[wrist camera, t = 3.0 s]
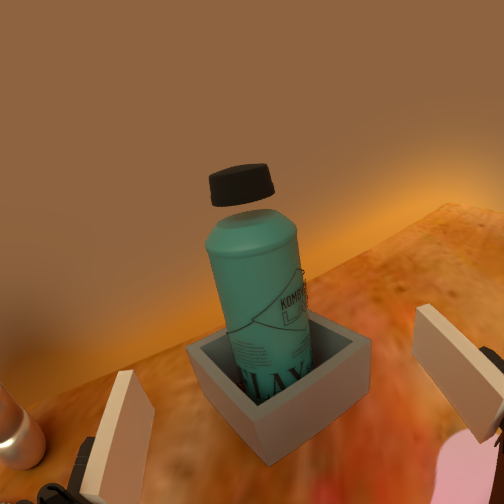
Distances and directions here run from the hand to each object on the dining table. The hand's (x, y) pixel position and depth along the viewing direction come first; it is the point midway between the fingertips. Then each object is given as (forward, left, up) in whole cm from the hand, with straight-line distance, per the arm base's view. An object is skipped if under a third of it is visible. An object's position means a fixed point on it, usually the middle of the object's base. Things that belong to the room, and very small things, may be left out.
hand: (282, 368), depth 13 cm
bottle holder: (+9, -5, -12) cm, 16 cm away
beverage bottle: (+9, -5, -12) cm, 16 cm away
